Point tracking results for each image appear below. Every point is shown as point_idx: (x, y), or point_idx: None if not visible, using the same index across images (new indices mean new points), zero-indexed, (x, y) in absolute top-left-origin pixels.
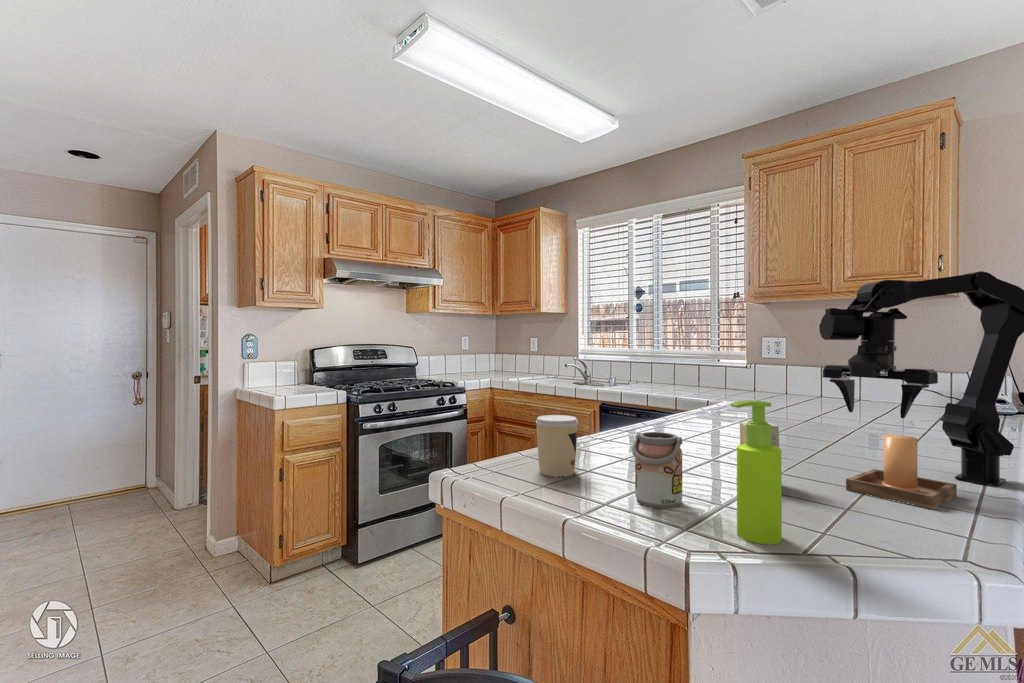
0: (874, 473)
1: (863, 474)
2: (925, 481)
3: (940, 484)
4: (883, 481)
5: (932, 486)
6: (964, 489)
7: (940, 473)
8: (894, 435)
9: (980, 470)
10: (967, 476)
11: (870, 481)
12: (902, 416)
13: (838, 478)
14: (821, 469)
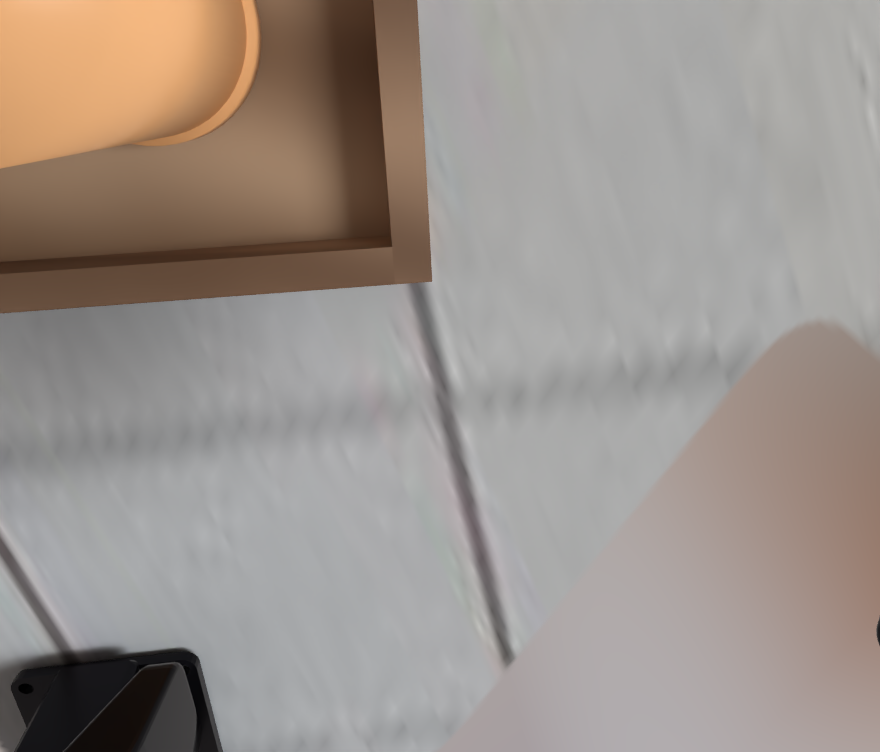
0: (387, 180)
1: (394, 2)
2: (93, 266)
3: (2, 270)
4: (250, 11)
5: (61, 262)
6: (55, 493)
7: (299, 708)
8: (11, 35)
9: (44, 717)
10: (123, 669)
11: (377, 93)
12: (139, 678)
13: (580, 70)
14: (744, 232)
